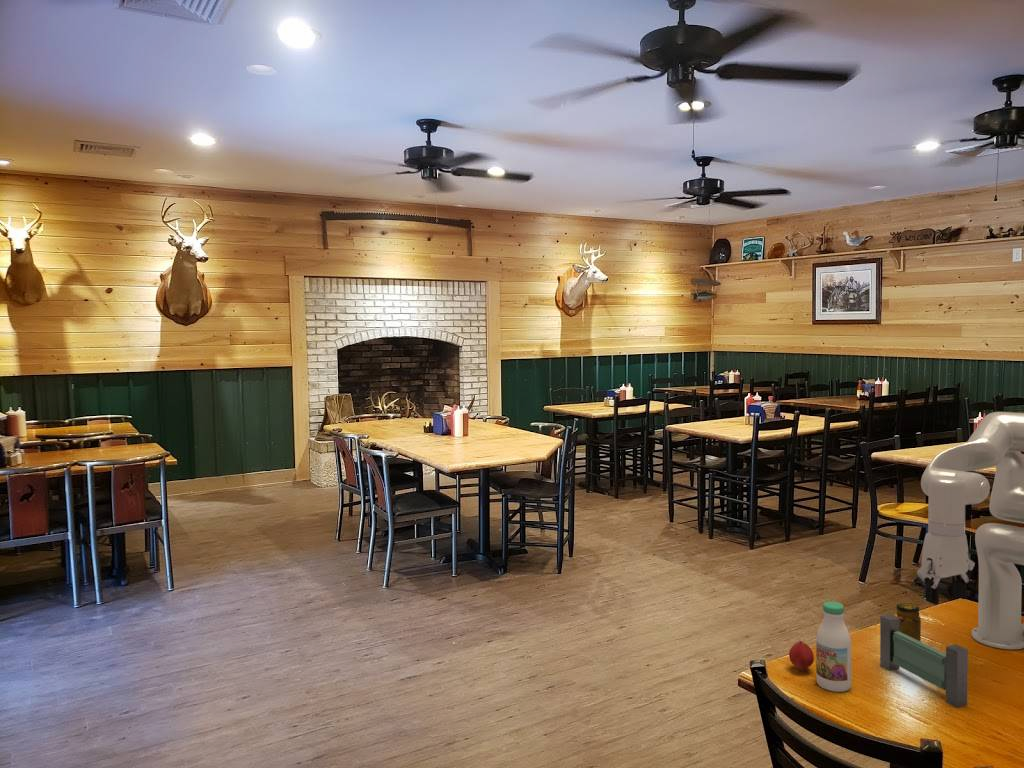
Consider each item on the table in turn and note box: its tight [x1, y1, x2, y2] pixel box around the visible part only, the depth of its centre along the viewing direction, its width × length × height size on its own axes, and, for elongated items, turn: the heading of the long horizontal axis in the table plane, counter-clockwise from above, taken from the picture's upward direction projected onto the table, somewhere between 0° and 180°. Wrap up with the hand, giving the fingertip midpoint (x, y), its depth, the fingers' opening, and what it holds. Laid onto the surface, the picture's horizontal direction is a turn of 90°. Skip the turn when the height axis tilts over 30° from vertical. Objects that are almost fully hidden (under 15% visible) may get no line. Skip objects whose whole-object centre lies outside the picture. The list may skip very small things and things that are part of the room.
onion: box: [788, 639, 815, 672], centre depth 185 cm, size 6×6×8 cm
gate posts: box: [879, 613, 969, 708], centre depth 175 cm, size 3×22×13 cm, turn 18°
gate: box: [893, 631, 946, 691], centre depth 175 cm, size 14×2×8 cm, turn 18°
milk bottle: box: [815, 601, 852, 693], centre depth 176 cm, size 8×8×20 cm
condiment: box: [894, 602, 922, 642], centre depth 193 cm, size 7×8×12 cm
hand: (945, 599), depth 176 cm, fingers open, 7 cm apart
